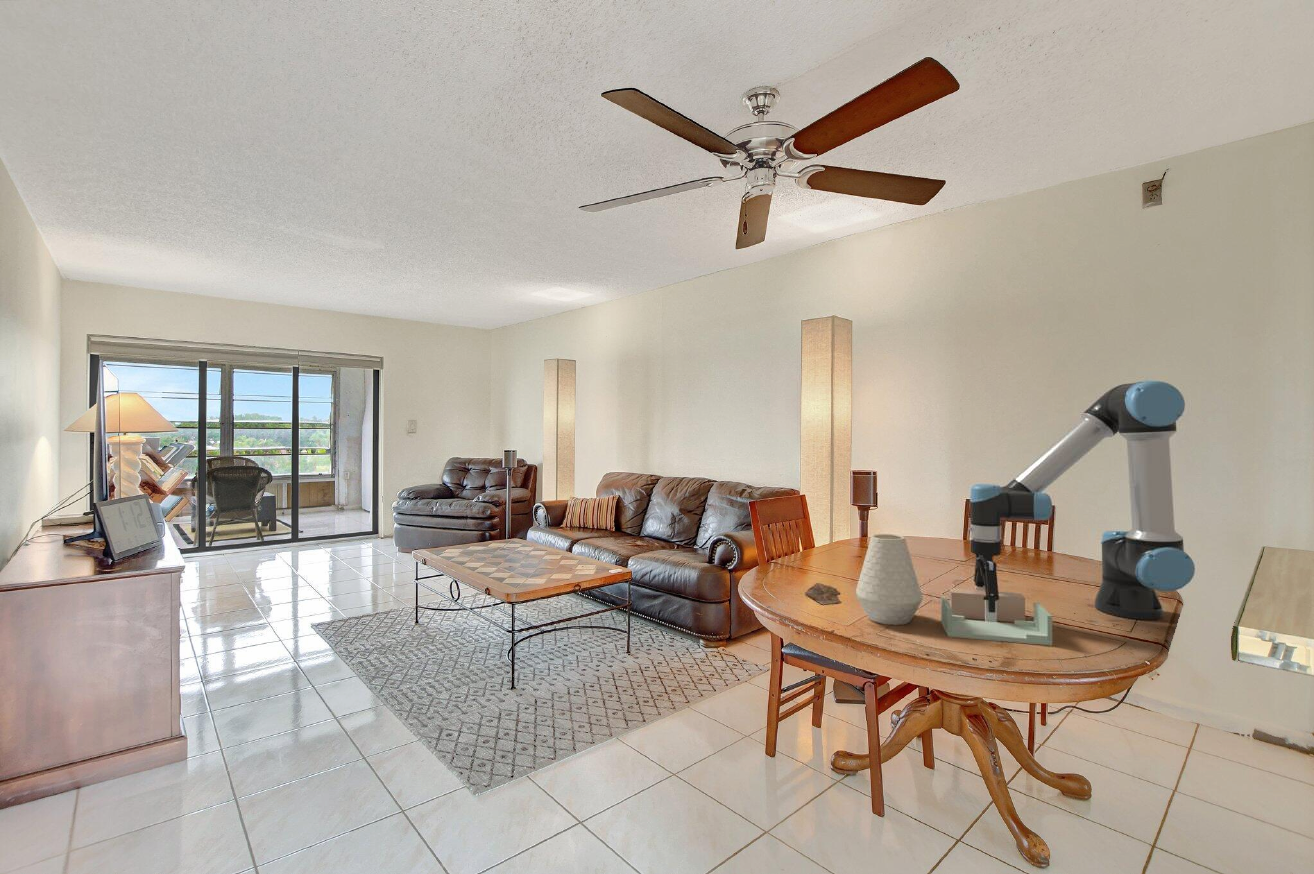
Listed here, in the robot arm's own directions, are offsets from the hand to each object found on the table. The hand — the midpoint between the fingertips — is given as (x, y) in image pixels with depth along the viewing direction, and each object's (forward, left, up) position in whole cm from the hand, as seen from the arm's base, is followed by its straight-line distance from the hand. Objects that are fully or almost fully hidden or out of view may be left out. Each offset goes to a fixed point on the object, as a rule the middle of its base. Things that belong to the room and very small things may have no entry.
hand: (985, 616), depth 165 cm
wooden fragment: (+45, -12, -1) cm, 47 cm away
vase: (+26, +9, 0) cm, 27 cm away
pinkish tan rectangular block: (0, 0, 0) cm, 0 cm away
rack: (+1, +14, 0) cm, 14 cm away
